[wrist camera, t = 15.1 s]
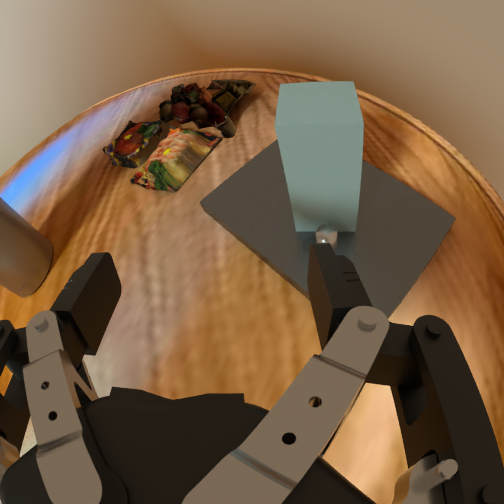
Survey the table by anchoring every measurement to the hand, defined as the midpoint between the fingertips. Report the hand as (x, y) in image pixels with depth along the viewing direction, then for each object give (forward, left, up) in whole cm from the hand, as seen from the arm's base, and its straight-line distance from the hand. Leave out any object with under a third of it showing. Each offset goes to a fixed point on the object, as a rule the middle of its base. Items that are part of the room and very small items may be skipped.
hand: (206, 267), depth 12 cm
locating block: (-4, +12, -12) cm, 17 cm away
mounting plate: (-4, +12, -13) cm, 18 cm away
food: (-29, +12, -14) cm, 34 cm away
